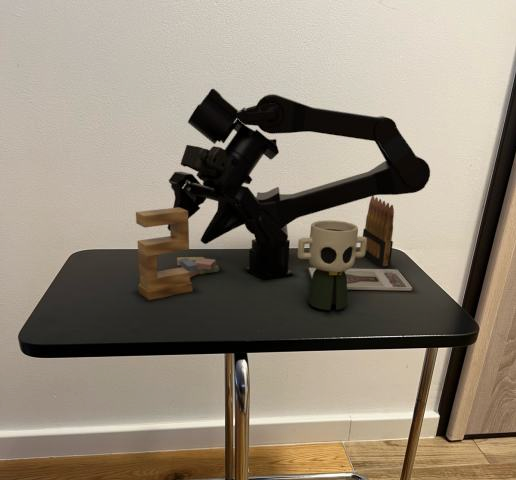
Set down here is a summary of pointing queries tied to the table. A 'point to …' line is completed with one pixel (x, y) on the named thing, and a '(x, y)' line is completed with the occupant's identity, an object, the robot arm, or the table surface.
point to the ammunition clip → (379, 232)
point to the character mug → (331, 261)
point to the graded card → (374, 279)
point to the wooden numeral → (166, 280)
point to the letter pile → (197, 265)
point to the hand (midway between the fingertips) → (185, 236)
